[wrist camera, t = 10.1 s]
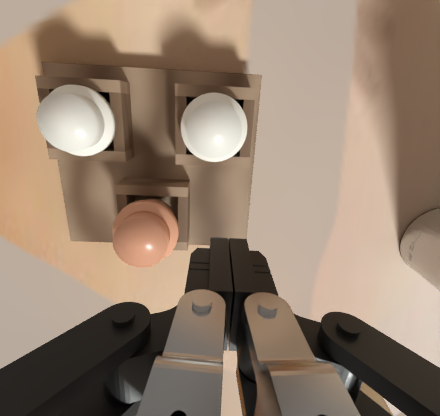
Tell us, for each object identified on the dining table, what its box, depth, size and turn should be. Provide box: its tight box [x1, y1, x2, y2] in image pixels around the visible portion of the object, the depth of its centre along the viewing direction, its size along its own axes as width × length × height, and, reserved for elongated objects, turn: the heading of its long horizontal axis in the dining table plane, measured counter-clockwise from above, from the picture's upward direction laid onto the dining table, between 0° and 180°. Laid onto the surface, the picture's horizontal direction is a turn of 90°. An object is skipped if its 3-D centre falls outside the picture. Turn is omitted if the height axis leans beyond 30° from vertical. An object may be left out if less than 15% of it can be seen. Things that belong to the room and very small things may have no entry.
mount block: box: [35, 62, 262, 250], centre depth 29 cm, size 21×19×4 cm
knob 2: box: [181, 93, 247, 162], centre depth 25 cm, size 6×6×6 cm
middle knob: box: [112, 198, 179, 267], centre depth 26 cm, size 6×6×6 cm
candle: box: [360, 382, 393, 416], centre depth 39 cm, size 6×6×10 cm
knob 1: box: [37, 85, 116, 156], centre depth 24 cm, size 6×6×6 cm
